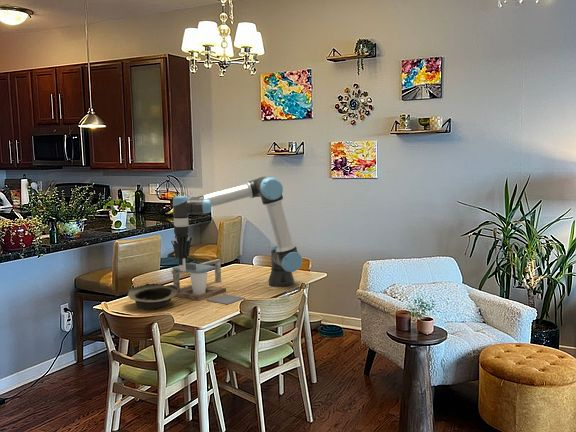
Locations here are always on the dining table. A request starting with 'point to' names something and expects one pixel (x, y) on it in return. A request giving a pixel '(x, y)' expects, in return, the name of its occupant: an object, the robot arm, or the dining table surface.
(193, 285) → the foam cup
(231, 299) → the rubber mat
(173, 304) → the dining table surface
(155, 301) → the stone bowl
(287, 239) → the robot arm
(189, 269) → the cover
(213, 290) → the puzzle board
